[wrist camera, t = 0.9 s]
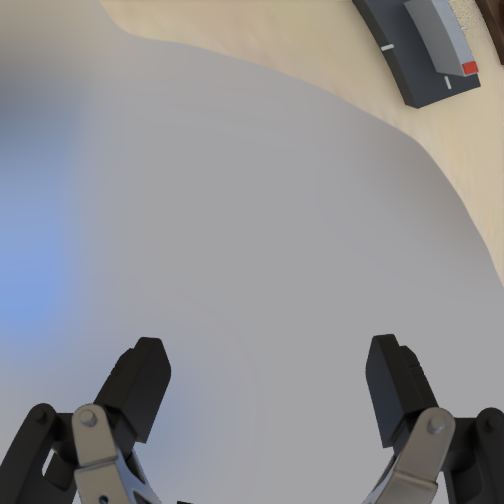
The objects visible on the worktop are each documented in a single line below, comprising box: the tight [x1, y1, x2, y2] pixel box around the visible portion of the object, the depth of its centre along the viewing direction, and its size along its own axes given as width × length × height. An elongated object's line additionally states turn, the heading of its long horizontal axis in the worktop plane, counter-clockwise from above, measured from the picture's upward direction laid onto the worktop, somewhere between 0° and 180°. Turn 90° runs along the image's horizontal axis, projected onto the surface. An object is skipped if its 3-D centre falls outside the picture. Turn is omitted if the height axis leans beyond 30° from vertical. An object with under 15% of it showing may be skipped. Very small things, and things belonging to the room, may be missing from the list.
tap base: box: [352, 0, 481, 109], centre depth 18 cm, size 14×12×3 cm
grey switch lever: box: [404, 0, 478, 77], centre depth 15 cm, size 8×2×5 cm, turn 31°
